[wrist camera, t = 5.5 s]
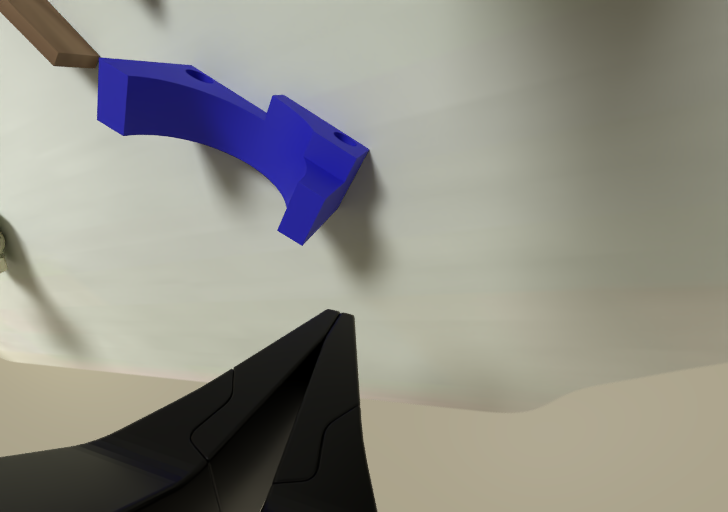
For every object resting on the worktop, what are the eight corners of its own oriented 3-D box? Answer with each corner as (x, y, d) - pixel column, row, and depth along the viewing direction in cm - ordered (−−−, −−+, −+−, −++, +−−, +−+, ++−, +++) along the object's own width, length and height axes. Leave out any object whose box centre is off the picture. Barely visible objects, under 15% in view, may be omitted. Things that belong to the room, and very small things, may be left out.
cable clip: (369, 148, 19) (339, 171, 14) (338, 207, 21) (302, 245, 16) (197, 39, 19) (100, 20, 13) (184, 111, 21) (96, 119, 16)
